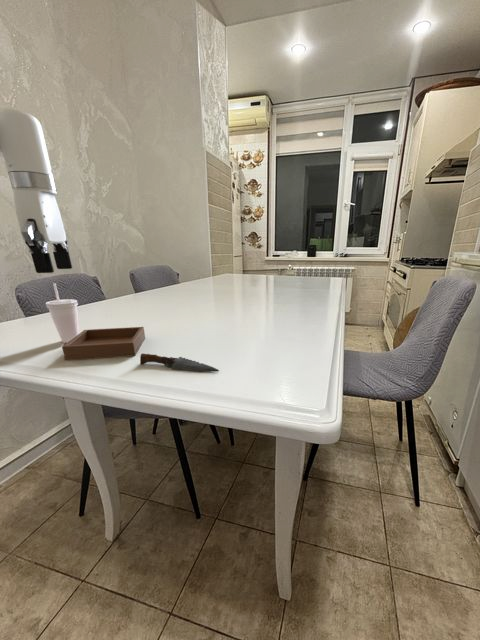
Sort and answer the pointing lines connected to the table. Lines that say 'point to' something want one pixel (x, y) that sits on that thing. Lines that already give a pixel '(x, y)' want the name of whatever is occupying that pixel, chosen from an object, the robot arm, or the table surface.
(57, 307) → the smoothie
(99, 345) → the tray
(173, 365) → the knife
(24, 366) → the table surface
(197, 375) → the table surface
